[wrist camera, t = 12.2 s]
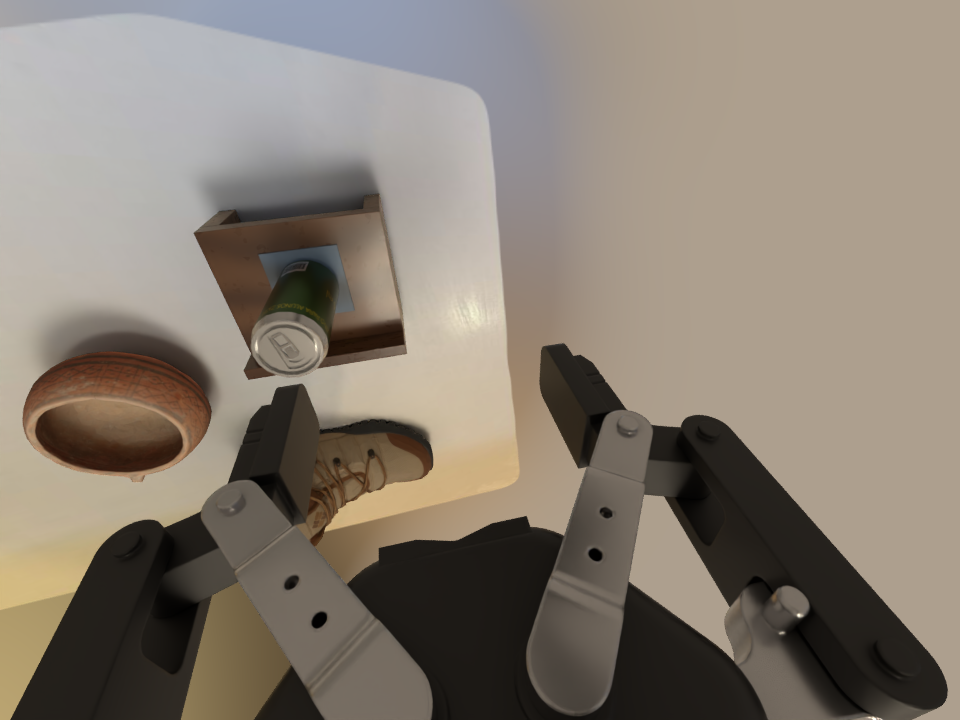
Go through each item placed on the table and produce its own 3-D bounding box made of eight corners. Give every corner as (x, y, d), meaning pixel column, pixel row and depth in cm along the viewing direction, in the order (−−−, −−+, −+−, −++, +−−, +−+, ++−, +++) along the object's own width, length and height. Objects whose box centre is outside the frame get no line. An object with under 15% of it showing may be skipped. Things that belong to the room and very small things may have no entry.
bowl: (159, 449, 55) (122, 512, 47) (31, 375, 46) (-43, 438, 38) (249, 393, 53) (226, 449, 45) (133, 305, 44) (78, 355, 36)
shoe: (428, 465, 67) (436, 546, 55) (247, 472, 61) (212, 565, 49) (433, 419, 62) (443, 498, 50) (235, 421, 56) (192, 512, 44)
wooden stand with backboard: (218, 211, 40) (179, 244, 32) (379, 193, 43) (379, 220, 35) (269, 330, 49) (248, 380, 41) (402, 310, 51) (406, 353, 43)
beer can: (267, 272, 38) (229, 338, 28) (318, 247, 37) (297, 306, 28) (303, 317, 41) (280, 390, 31) (350, 294, 41) (341, 361, 31)
